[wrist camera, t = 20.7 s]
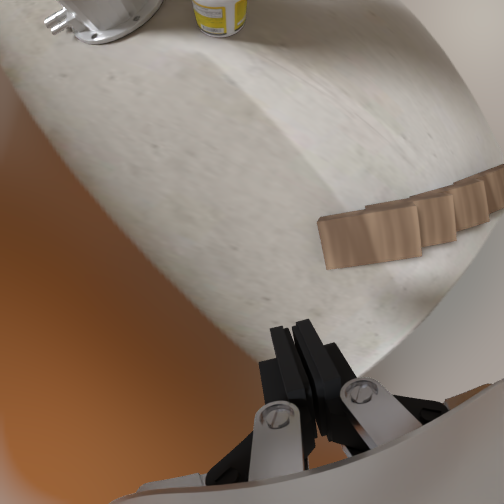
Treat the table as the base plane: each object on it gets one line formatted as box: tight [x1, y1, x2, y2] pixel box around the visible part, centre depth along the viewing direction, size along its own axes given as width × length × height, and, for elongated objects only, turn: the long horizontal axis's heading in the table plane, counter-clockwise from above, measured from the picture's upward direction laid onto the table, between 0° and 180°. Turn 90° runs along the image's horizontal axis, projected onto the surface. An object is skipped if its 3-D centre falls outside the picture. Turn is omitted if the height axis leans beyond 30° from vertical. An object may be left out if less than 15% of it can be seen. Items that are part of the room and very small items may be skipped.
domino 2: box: [365, 192, 457, 247], centre depth 26 cm, size 2×5×10 cm
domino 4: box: [453, 164, 504, 214], centre depth 25 cm, size 2×5×10 cm
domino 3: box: [410, 179, 490, 232], centre depth 26 cm, size 2×5×10 cm
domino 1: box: [317, 202, 422, 270], centre depth 26 cm, size 2×5×10 cm
